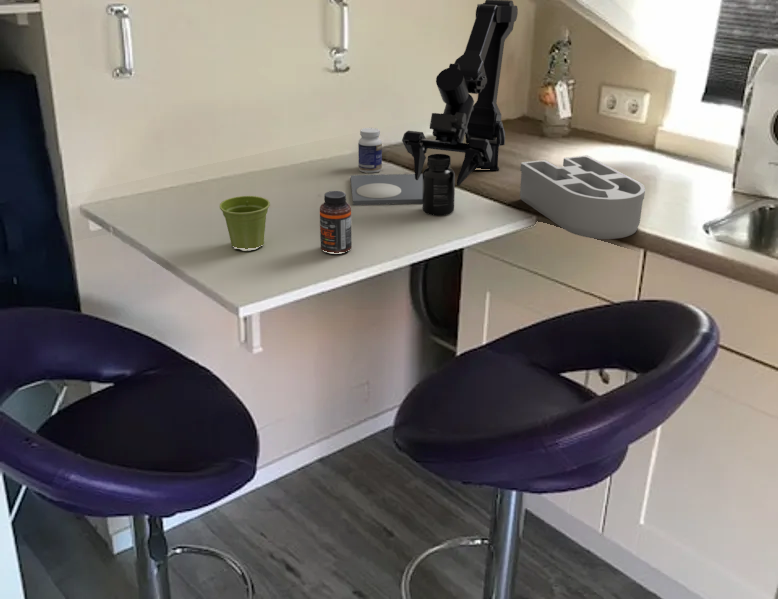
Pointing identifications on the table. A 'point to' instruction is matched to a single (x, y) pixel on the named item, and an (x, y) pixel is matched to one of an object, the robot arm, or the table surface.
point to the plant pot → (245, 220)
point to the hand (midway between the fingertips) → (436, 182)
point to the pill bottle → (370, 151)
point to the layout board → (386, 189)
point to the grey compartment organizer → (584, 196)
